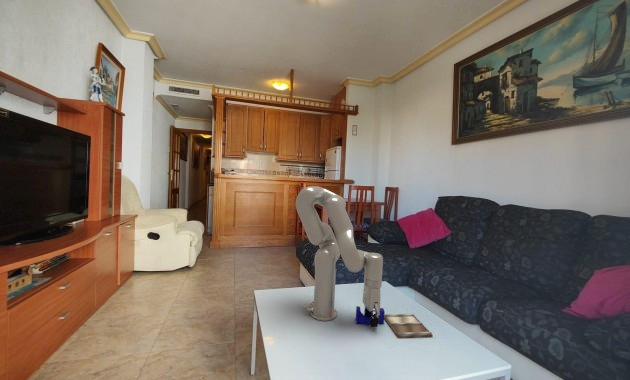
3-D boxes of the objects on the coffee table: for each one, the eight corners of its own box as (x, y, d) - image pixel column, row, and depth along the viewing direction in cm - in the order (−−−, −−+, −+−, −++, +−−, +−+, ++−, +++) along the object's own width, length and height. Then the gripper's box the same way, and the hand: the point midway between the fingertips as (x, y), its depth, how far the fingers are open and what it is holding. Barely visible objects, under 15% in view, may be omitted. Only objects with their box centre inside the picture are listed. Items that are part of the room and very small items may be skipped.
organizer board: (397, 338, 105) (397, 333, 105) (383, 318, 120) (383, 314, 120) (432, 337, 107) (432, 332, 107) (414, 317, 122) (414, 313, 122)
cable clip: (356, 324, 114) (357, 311, 114) (355, 319, 119) (356, 306, 118) (384, 326, 113) (385, 313, 113) (382, 321, 118) (383, 308, 118)
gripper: (358, 274, 122) (356, 311, 123) (371, 290, 105) (369, 333, 106) (374, 274, 123) (372, 311, 124) (389, 290, 106) (386, 332, 107)
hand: (370, 321), depth 115 cm, fingers open, 7 cm apart
